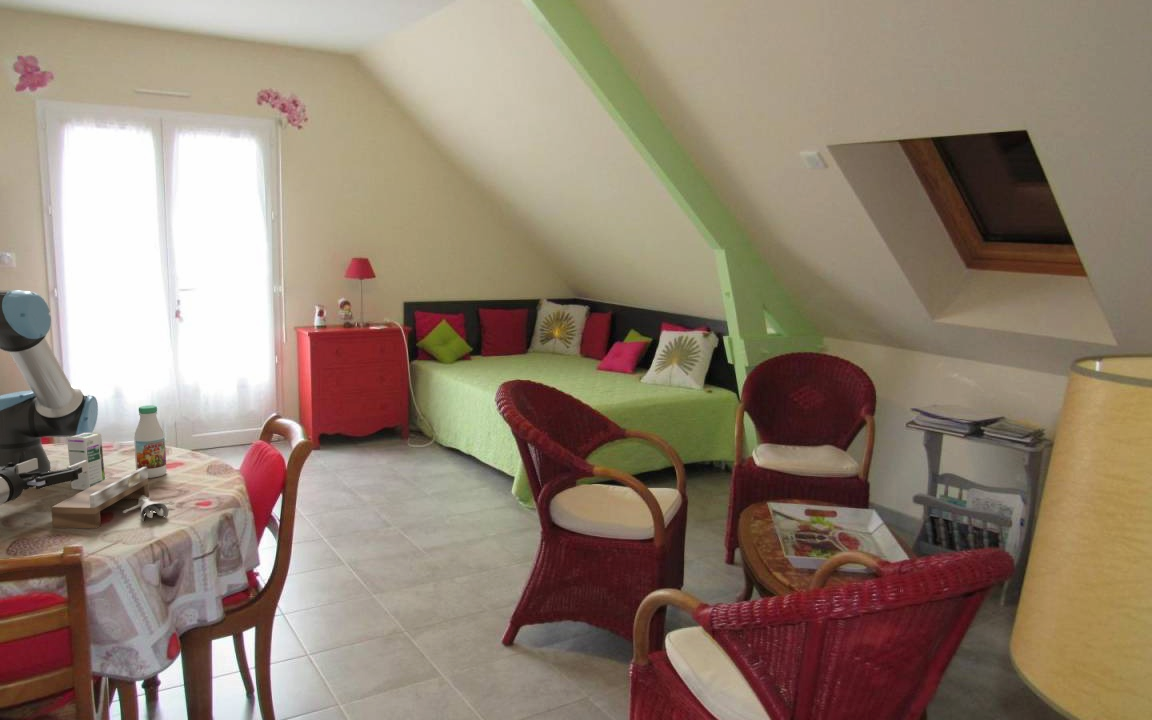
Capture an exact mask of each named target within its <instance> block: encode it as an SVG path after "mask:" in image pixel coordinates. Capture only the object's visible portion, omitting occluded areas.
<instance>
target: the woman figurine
mask: <svg viewBox="0 0 1152 720" xmlns="http://www.w3.org/2000/svg"><path fill="white" fill-rule="evenodd" d="M175 504H176V503H175V502H172V501H169V502H166V501H165V502H164V501H152V500H151V498H150V497H146V496H144V495H142V496H141V497H140V498H138V504H136V505H134V506H132V507H130V508H126V509H125V510H123V514H126V513H128V512H130V511H134V510H135V509H141V510H140V517H141V521H142V522H145V521H144V514H145V513H146V514H147V515H146V517H148V518H151V519H152V518H153V515H154V514H153V511H155V512H156V513H157V514H156V515H158V516H161V517H162V516H165V517H166V518H168V516H169V512H170V510H169V508H168V507H167V505H171V506H173V505H175ZM150 511H151V512H150Z"/></svg>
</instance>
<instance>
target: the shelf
mask: <svg viewBox="0 0 1152 720" xmlns="http://www.w3.org/2000/svg"><path fill="white" fill-rule="evenodd" d="M149 492H150V489H149V478H148V470H147V467H142V468H140V469H138V470H136V469H135V471H133V472H131V473H129V474H127V475H125V476H123V477H121V476H118V477H117V476H116V477H114V476H111V477H110V476H109V477H108V478H105V480H103V481H101V482H99V483H97V484H95V485H93V486H91V487H90V488H88V489H86V490H81V491H80V492H78V493H76V494H74V495H72V496H71V497H68V498H66V499H65V500H63V501H60V502H58V503H57V504H55V505H53V506H51V520H52V523H51V524H52V528H53V529H55V528H56V529H97V528H96V527H98V526H99V527H101V526H100V525H102V523H101V511H103V510H104V509H106V508H108V507H109V506H111V505H114V504H115V503H117V502H118V501H120V500H122V499H139V498H140V497H141V496H142V495H144V496H146V497H147V498H149V497H150V493H149ZM148 496H149V497H148ZM99 527H98V528H99Z"/></svg>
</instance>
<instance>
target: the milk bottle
mask: <svg viewBox="0 0 1152 720" xmlns="http://www.w3.org/2000/svg"><path fill="white" fill-rule="evenodd" d="M157 407H158V406H156V405H152V404H151V405H150V404H149V405H142V406H139V407H138V413H139V414H138V415H139V421H138V424H137V427H135V428H136V429H135V432H134V437H133V438H134V440H133V441H134V458H135V463H134V464H135V471H136V470H138V469H140V468H142V467H147V470H148V479H153V478H158V477H162V476H165V474H167V453H166V440H165V432H164V430H163V427H162V425H161V423H160V422H159V420H158V416H157V414H158V408H157Z"/></svg>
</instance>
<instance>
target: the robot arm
mask: <svg viewBox="0 0 1152 720" xmlns="http://www.w3.org/2000/svg"><path fill="white" fill-rule="evenodd" d="M51 323H52V317H51V315H50V308H49V306H48V304H47V302H46V300H45V299H44V298H43V297H42V296H41V295H40V294H38V293H36V292H34V291H31V290H30V291H29V290H21V289H12V290H8V289H7V290H0V350H1V351H3V352H7V353H9V356H10V358H12V360H13V362H14V364H15V365H16V367H17V369H18V370H19V372H20V374H21V375H22V377H23V379H24V380H25V382H26V383H27V385H28V386H29V388H30V390H22V391H16V392H10V393H5V394H1V395H0V506H1V505H3V504H7V503H8V502H9V503H10V502H11V501H14V500H16V499H17V498H19V497H20V496H21V494H22V493H23V491H24V490H29V489H30V488H35V489H36V490H41V489H44V488H47V487H50V486H55V485H56V486H57V485H59V484H64V483H68V482H72V481H74V480H77V479H78V475H79V474H81V473H84V472H86V471H88V463H87V460H84V461H82V462H79V463H77V464H74V465H71V466H70V465H69V466H67V467H66V468H62V469H56V470H52V469H51V468H52V467H51V461H50V460H49V457H48V455H47V453H46V450H45V449H44V447H43V445H42V438H68V437H72V436H75V435H79V434H82V433H94V430H95V429H96V428H95V427H96V425H97V421H98V415H99V407H98V405H99V404H98V400H97V397H95V396H94V395H90V394H87V395H84V394H83V392H82V390H81V389H80V388H79V387H77V386H76V385H74V384H71V383H70V381H69V379H68V378H67V376H66V374H65V372H64V370H63V368H62V367H61V365H60V363H59V361H58V360H57V357H56V356H55V353H54V352H53V350H52V348H51V346H50V344H49V343H48V341H47V339H46V337H47V335H48V333H49V331H50V330H51V325H52V324H51ZM50 469H51V470H50ZM48 471H49V472H48Z"/></svg>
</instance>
